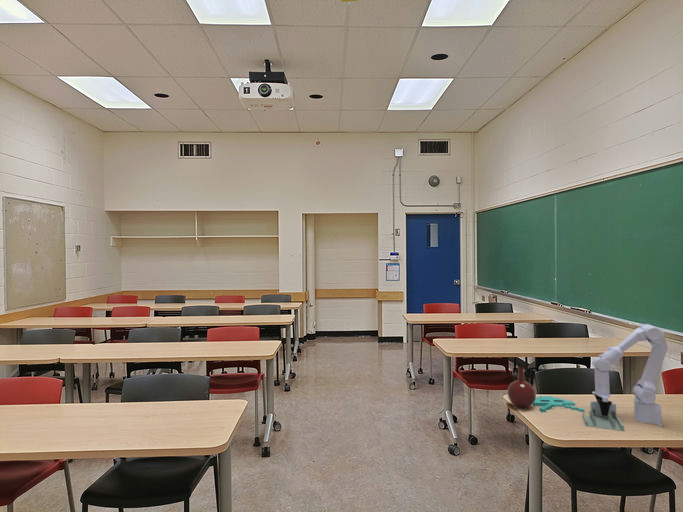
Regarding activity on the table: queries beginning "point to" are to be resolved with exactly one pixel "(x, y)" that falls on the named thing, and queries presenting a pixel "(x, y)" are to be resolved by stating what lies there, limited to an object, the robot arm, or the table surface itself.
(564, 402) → the teal pixel shape
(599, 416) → the stand
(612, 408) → the long pale grey plank
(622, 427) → the rack
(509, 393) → the round-bottom flask
